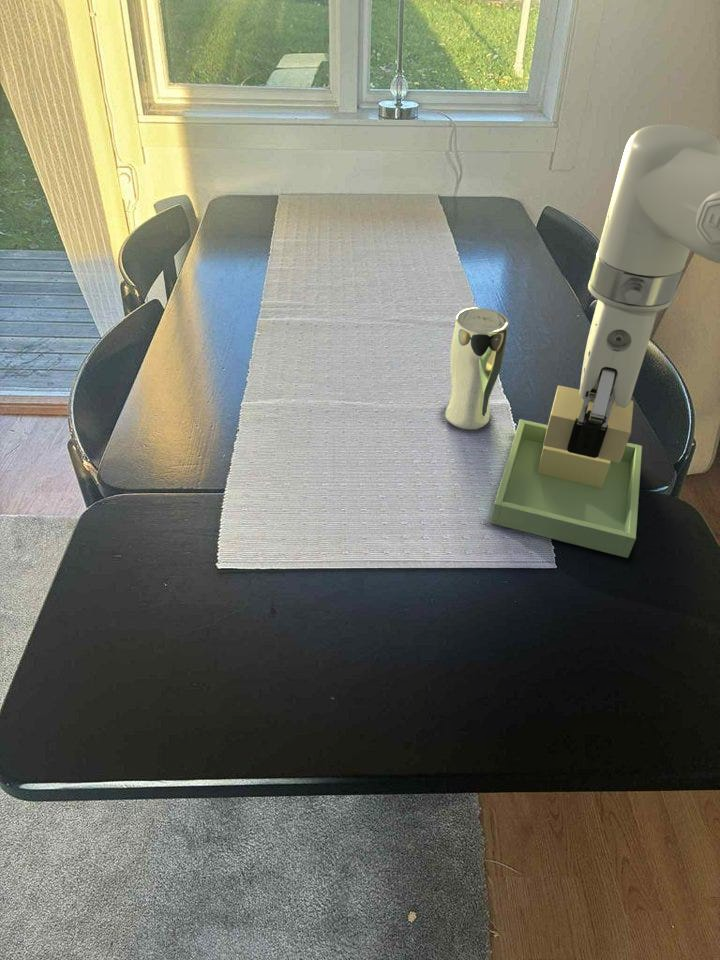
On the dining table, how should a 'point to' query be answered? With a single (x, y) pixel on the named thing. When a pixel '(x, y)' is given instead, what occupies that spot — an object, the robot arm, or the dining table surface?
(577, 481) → the pale yellow block
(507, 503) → the tray
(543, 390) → the dining table surface
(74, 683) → the dining table surface
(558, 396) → the tan rectangular block
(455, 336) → the beer glass
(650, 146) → the robot arm
